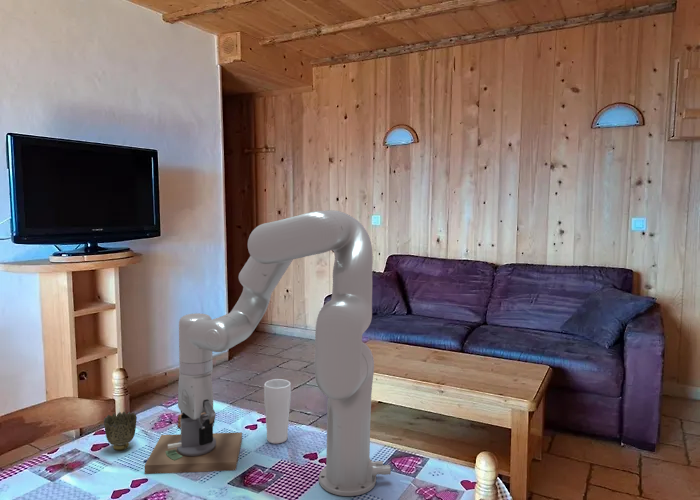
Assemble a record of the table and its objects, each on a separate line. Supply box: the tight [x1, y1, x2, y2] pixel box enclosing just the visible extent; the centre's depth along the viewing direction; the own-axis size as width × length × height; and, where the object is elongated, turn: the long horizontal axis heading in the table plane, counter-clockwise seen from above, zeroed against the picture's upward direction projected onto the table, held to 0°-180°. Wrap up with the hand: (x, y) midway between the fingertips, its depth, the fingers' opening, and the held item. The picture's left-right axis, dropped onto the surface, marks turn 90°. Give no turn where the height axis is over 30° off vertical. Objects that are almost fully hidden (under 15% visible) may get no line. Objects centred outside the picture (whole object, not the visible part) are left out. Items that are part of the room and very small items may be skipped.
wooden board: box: [144, 432, 243, 475], centre depth 123 cm, size 20×15×2 cm
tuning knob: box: [168, 417, 216, 456], centre depth 122 cm, size 11×9×7 cm
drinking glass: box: [263, 378, 292, 444], centre depth 131 cm, size 7×7×15 cm
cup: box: [103, 411, 138, 452], centre depth 125 cm, size 8×7×8 cm
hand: (196, 435), depth 122 cm, fingers open, 9 cm apart
